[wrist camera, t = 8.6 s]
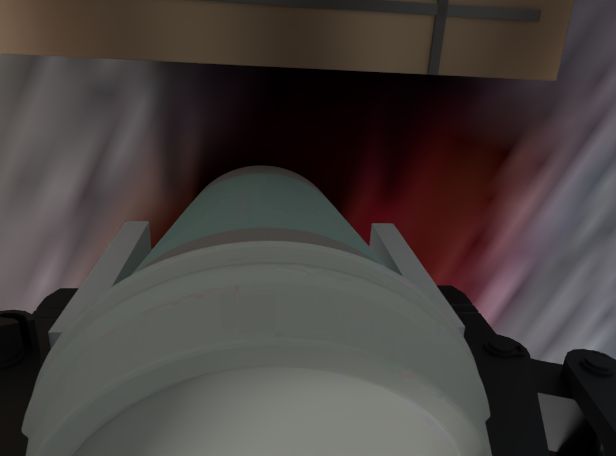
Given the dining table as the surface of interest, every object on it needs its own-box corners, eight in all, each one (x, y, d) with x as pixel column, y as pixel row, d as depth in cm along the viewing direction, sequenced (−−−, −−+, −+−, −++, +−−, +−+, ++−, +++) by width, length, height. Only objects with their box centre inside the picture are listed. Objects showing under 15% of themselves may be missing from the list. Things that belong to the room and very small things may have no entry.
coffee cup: (97, 207, 18) (-173, 504, 7) (299, 79, 17) (382, 174, 6) (231, 367, 21) (201, 752, 10) (409, 267, 20) (601, 569, 9)
